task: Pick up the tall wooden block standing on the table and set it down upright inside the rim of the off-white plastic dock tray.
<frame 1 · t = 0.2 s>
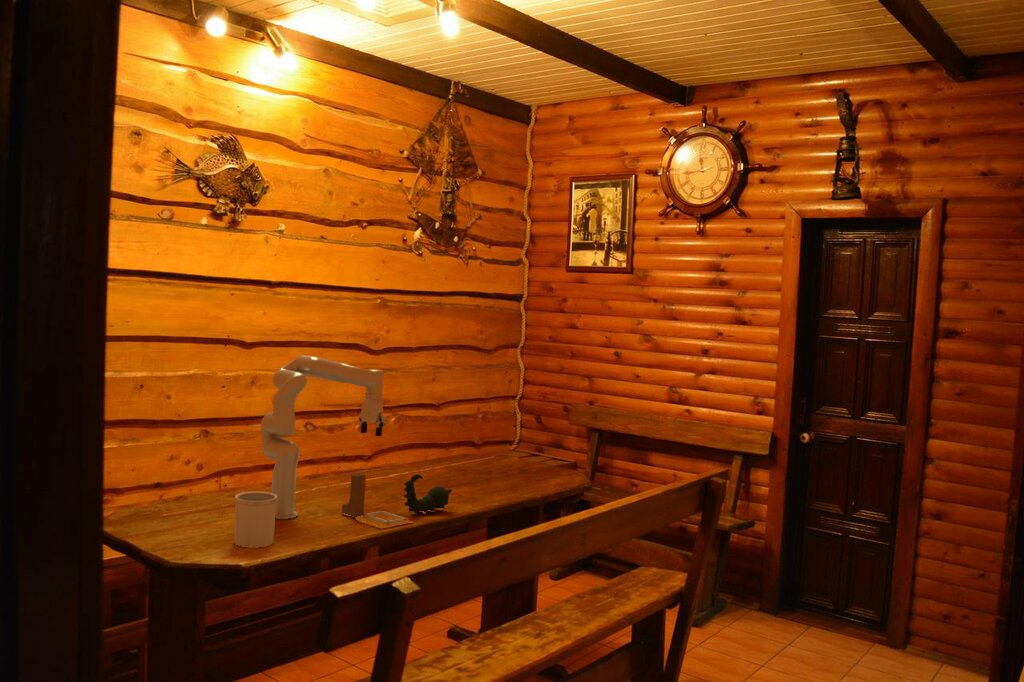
hand: (371, 434, 383), 31 cm above the table, tool pointing down, fingers open, 9 cm apart
dock tray: (384, 522, 353), on the table
wooden block: (352, 516, 359), on the table
utensil holder: (253, 543, 311), on the table
toy figurine: (427, 513, 374), on the table
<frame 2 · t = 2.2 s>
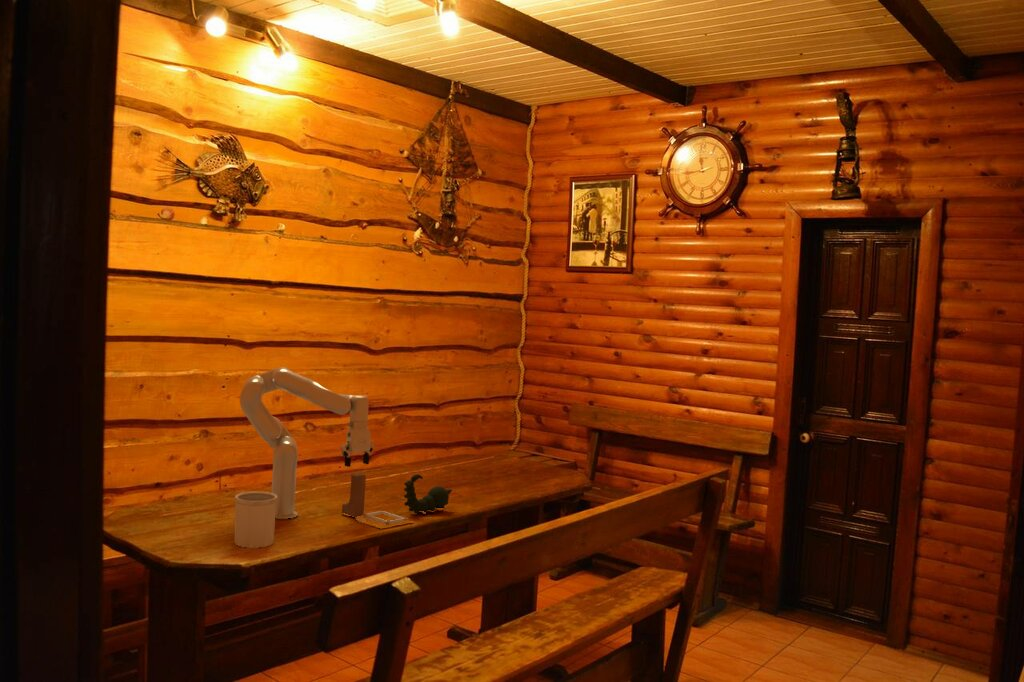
hand: (356, 465, 358), 22 cm above the table, tool pointing down, fingers open, 9 cm apart
nothing on the table moved.
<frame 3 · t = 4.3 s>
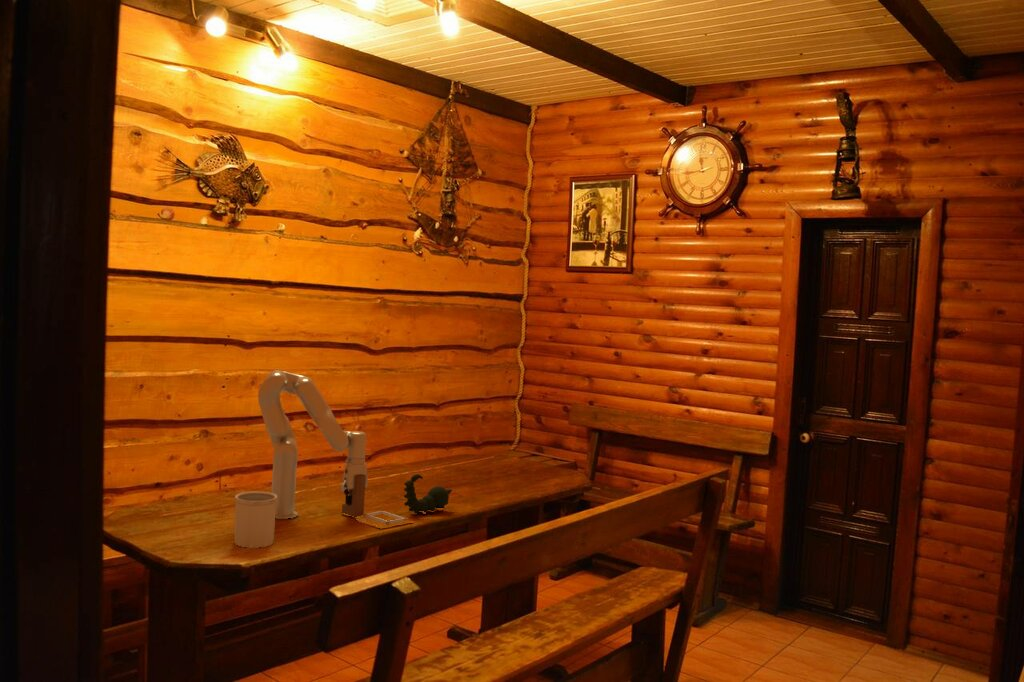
hand: (353, 503, 359), 5 cm above the table, tool pointing down, fingers closed on wooden block, 4 cm apart
wooden block: (352, 516, 359), on the table, touching gripper
everything else where it was.
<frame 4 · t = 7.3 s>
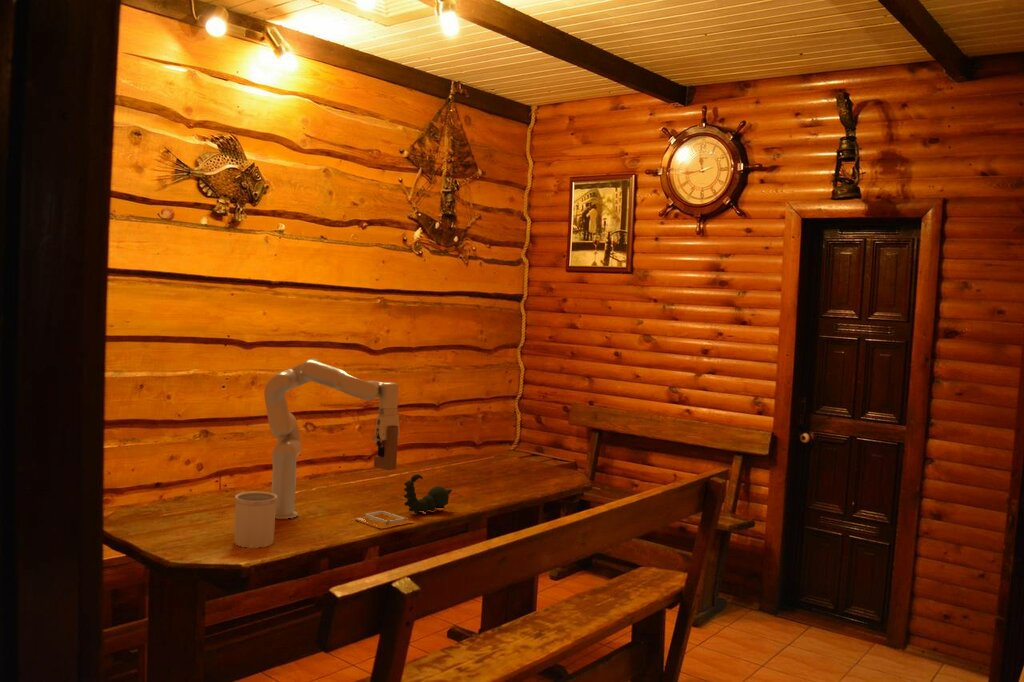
hand: (385, 455, 353), 28 cm above the table, tool pointing down, fingers closed on wooden block, 4 cm apart
wooden block: (384, 468, 353), point 22 cm above the table, touching gripper
everything else where it was.
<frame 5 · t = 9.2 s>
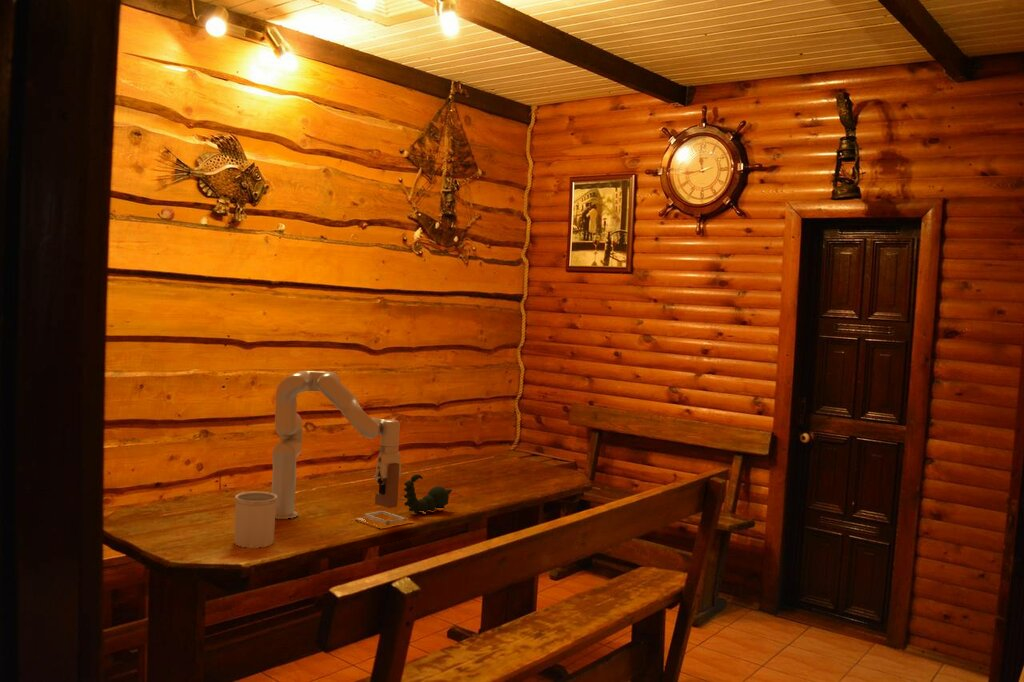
hand: (386, 492, 352), 12 cm above the table, tool pointing down, fingers closed on wooden block, 4 cm apart
wooden block: (385, 506, 353), point 7 cm above the table, touching gripper
everything else where it was.
when the fingers open (7 cm above the table, at t = 10.7 s): wooden block stays where it is, resting on dock tray.
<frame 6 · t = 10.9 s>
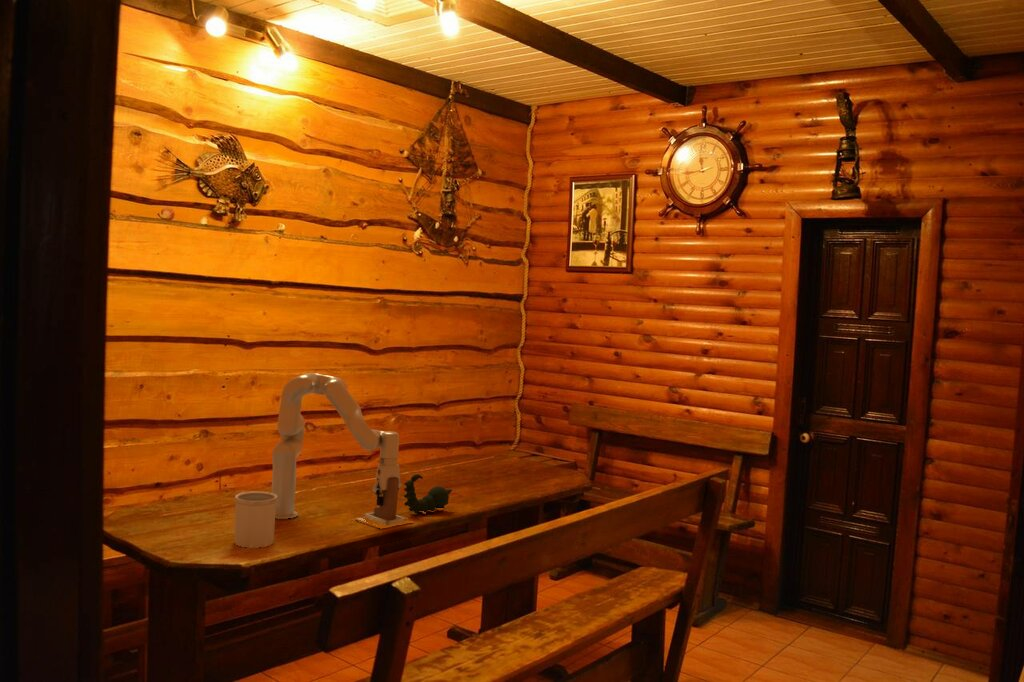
hand: (385, 504, 353), 8 cm above the table, tool pointing down, fingers open, 6 cm apart
wooden block: (384, 519, 353), point 1 cm above the table, touching dock tray
everything else where it was.
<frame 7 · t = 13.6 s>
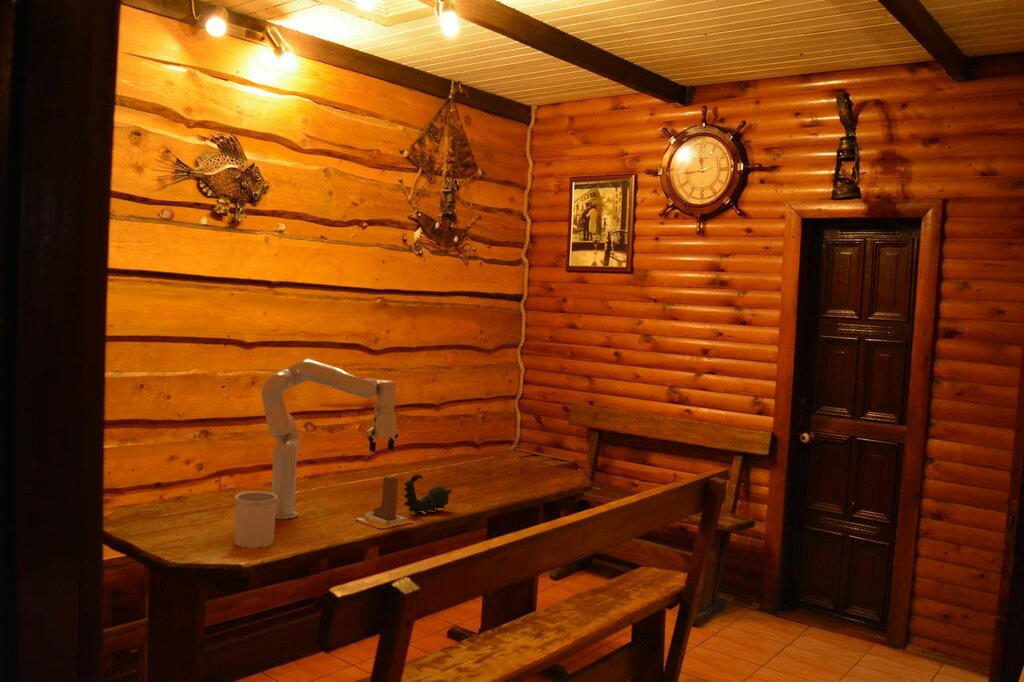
hand: (381, 450, 354), 29 cm above the table, tool pointing down, fingers open, 9 cm apart
nothing on the table moved.
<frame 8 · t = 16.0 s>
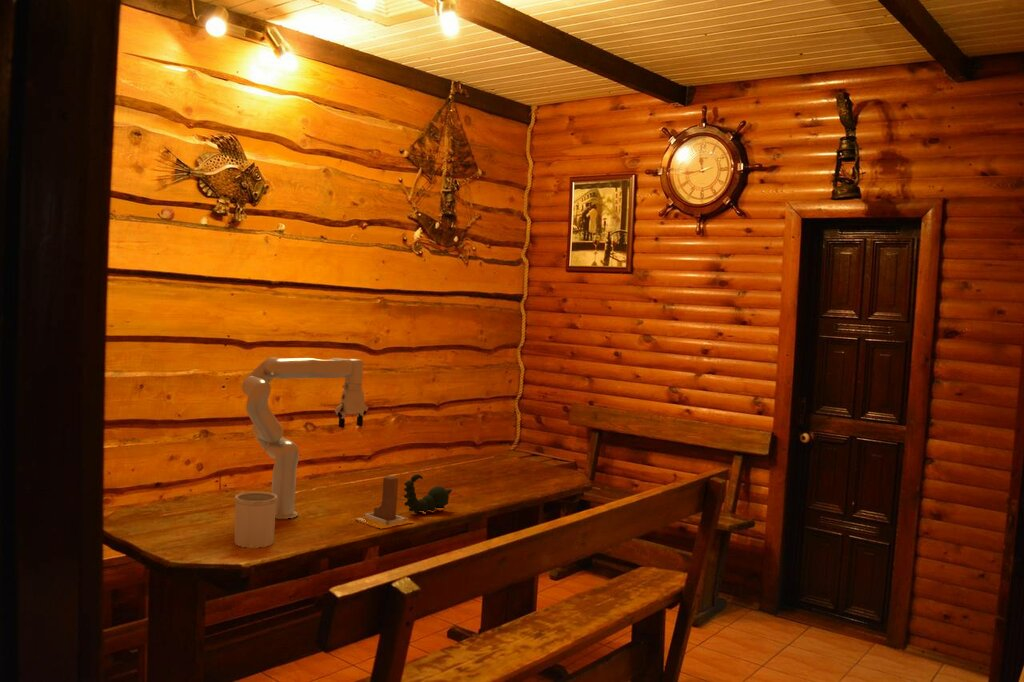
hand: (350, 426, 367), 36 cm above the table, tool pointing down, fingers open, 9 cm apart
nothing on the table moved.
at the end: wooden block inside the target area on the dock tray (0.2 cm from its centre), point 0.8 cm above the dock tray's base; wooden block tilted 0°; the gripper is holding nothing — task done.
